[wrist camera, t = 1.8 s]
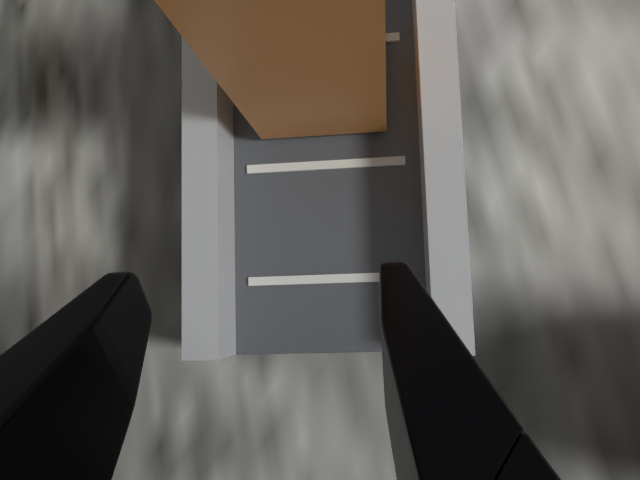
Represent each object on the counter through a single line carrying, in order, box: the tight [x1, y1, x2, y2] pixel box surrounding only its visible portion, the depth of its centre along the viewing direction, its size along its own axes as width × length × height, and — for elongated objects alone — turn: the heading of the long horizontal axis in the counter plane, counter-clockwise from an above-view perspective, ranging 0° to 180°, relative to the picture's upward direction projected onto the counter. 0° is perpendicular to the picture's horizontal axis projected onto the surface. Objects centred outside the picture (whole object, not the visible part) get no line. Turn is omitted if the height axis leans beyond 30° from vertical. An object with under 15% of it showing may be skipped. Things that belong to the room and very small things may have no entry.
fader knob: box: [154, 0, 387, 139], centre depth 15 cm, size 4×4×10 cm
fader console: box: [182, 0, 476, 361], centre depth 20 cm, size 19×9×4 cm, turn 2°
